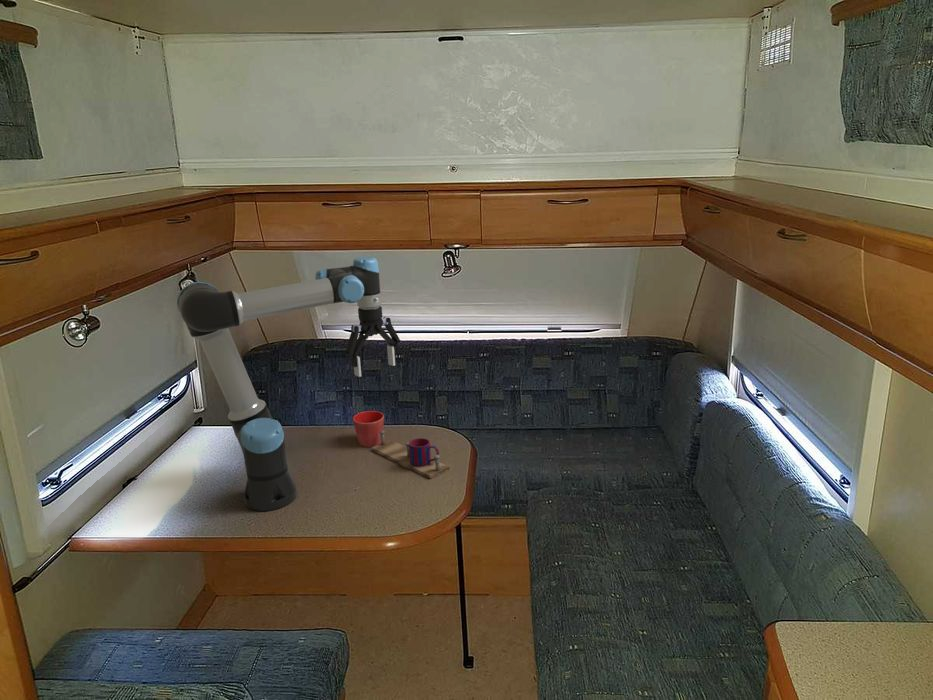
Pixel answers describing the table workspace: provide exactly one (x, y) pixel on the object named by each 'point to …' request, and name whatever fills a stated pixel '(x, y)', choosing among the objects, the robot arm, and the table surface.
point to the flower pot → (369, 427)
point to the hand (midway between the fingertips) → (375, 370)
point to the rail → (408, 457)
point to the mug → (421, 452)
